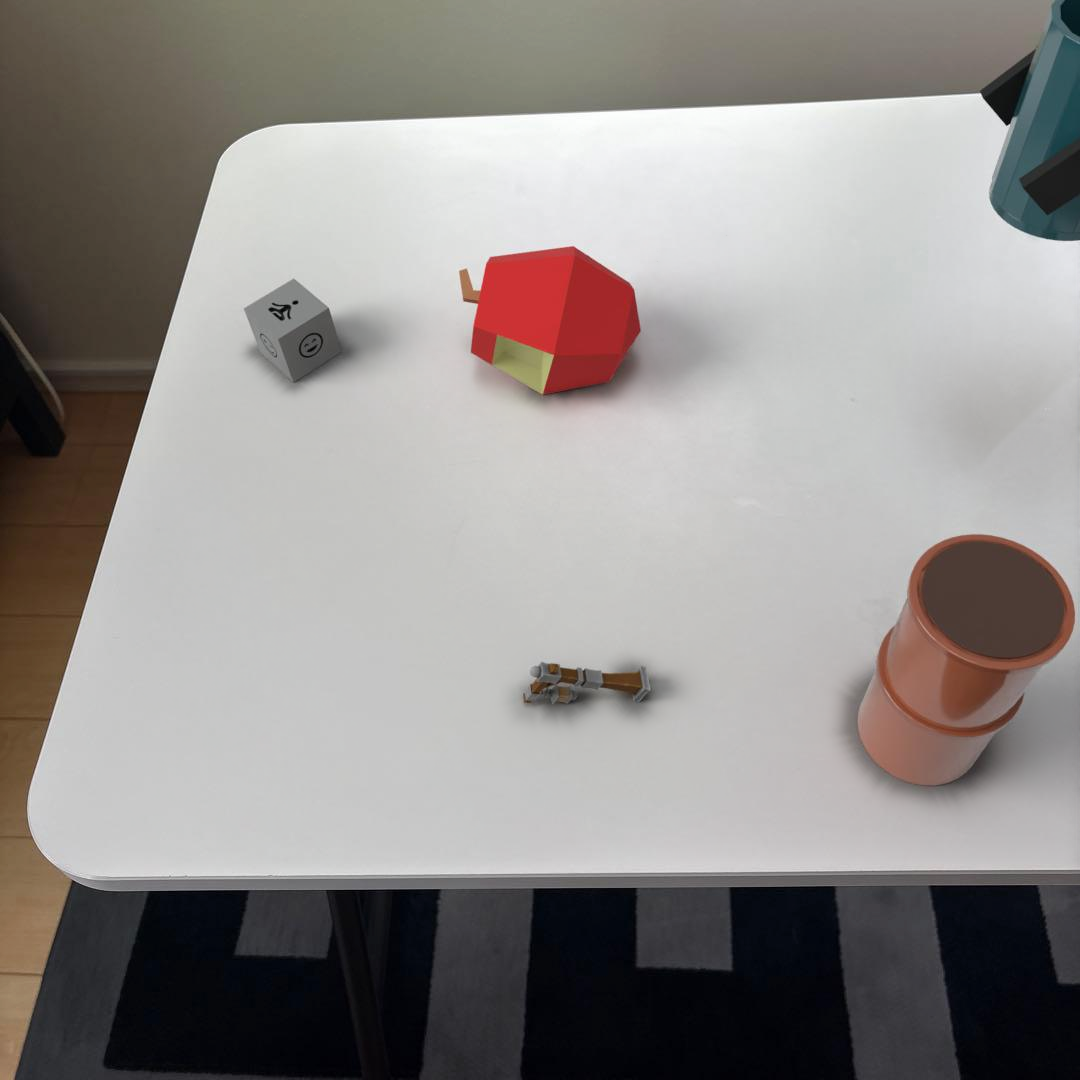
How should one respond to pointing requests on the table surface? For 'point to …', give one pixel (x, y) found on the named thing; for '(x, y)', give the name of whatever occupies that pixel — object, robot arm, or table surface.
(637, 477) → the table surface
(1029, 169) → the cup
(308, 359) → the dice cube
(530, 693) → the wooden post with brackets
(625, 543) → the table surface
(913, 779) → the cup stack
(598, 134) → the table surface
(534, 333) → the apple
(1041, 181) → the robot arm
